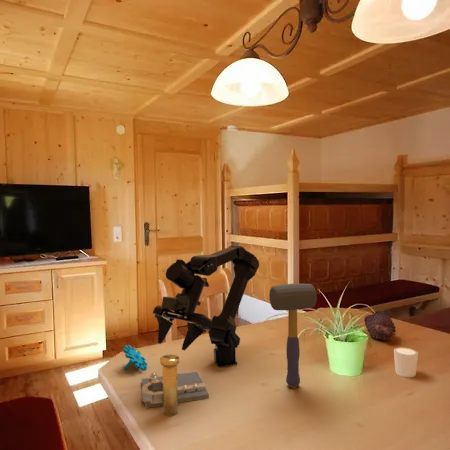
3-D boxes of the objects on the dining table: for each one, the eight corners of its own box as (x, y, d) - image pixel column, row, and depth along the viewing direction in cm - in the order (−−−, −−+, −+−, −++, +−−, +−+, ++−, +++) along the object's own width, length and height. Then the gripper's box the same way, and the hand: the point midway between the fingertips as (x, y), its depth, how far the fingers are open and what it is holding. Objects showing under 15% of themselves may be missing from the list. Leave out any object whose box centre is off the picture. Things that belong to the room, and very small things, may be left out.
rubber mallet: (307, 378, 113) (307, 280, 112) (318, 389, 106) (318, 285, 105) (268, 382, 110) (267, 282, 109) (277, 395, 103) (276, 287, 102)
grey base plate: (197, 374, 116) (197, 371, 116) (208, 397, 102) (208, 394, 102) (141, 382, 112) (141, 379, 112) (145, 407, 97) (145, 404, 97)
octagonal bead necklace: (196, 371, 116) (196, 364, 116) (208, 395, 101) (207, 386, 101) (140, 379, 111) (139, 371, 111) (143, 405, 97) (143, 396, 97)
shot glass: (417, 370, 117) (417, 348, 117) (418, 379, 111) (418, 356, 111) (393, 367, 120) (393, 345, 120) (393, 375, 114) (393, 353, 114)
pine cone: (356, 331, 155) (356, 308, 154) (378, 330, 156) (378, 306, 156) (381, 347, 137) (381, 320, 137) (405, 345, 139) (405, 318, 138)
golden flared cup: (178, 405, 98) (177, 353, 98) (181, 415, 94) (180, 360, 93) (160, 408, 97) (159, 355, 96) (162, 418, 92) (161, 363, 92)
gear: (144, 370, 116) (122, 347, 117) (130, 384, 116) (108, 361, 117) (152, 361, 127) (132, 340, 128) (140, 373, 127) (120, 352, 128)
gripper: (151, 280, 111) (129, 331, 104) (200, 287, 100) (178, 344, 93) (173, 295, 118) (154, 343, 112) (221, 303, 107) (202, 357, 101)
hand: (170, 346), depth 104 cm, fingers open, 9 cm apart
